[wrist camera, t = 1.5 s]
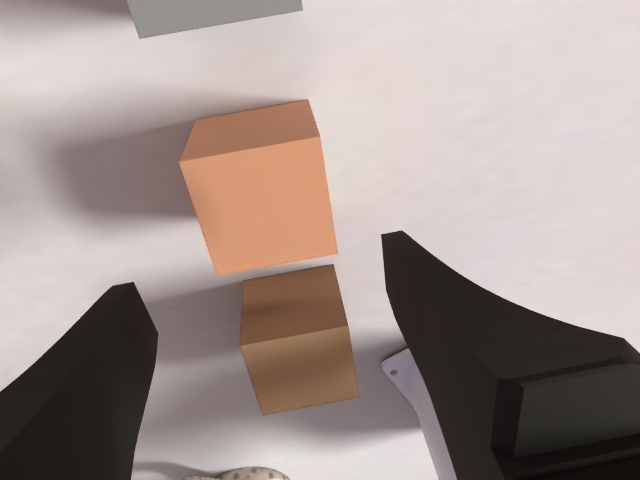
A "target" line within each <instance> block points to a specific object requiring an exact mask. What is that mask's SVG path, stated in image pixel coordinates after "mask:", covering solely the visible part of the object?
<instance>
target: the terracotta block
mask: <svg viewBox="0 0 640 480" xmlns="http://www.w3.org/2000/svg"><path fill="white" fill-rule="evenodd" d="M179 165H180V168H181V171H182V173H183V176H184V179H185V182H186V185H187V188H188V191H189V194H190V197H191V200H192V203H193V206H194V209H195V212H196V215H197V218H198V221H199V224H200V227H201V230H202V233H203V236H204V239H205V242H206V245H207V248H208V251H209V254H210V257H211V260H212V263H213V266H214V269H215V272H216V275H217V276H219V275H224V274H229V273H235V272H240V271H246V270H251V269H257V268H262V267H268V266H273V265H278V264H284V263H289V262H295V261H300V260H306V259H311V258H317V257H322V256H328V255H333V254H338V251H337V244H336V238H335V231H334V224H333V218H332V211H331V205H330V198H329V192H328V185H327V178H326V172H325V165H324V159H323V152H322V146H321V139H320V135H319V131H318V128H317V125H316V122H315V119H314V116H313V113H312V110H311V107H310V104H309V101H308V100H303V101H297V102H292V103H286V104H280V105H275V106H269V107H264V108H258V109H252V110H247V111H241V112H236V113H230V114H225V115H219V116H213V117H208V118H202V119H197V120H196V121H195V123H194V126H193V128H192V131H191V133H190V135H189V138H188V140H187V143H186V145H185V148H184V150H183V152H182V155H181V157H180V160H179Z"/></svg>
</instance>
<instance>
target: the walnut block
mask: <svg viewBox="0 0 640 480" xmlns="http://www.w3.org/2000/svg"><path fill="white" fill-rule="evenodd" d="M240 349H241V352H242V354H243V357H244V360H245V363H246V366H247V369H248V372H249V375H250V378H251V381H252V384H253V387H254V390H255V393H256V396H257V399H258V402H259V405H260V408H261V411H262V414H263V415H267V414H272V413H278V412H283V411H288V410H294V409H299V408H304V407H309V406H315V405H320V404H325V403H330V402H336V401H341V400H346V399H352V398H357V397H359V395H358V388H357V381H356V375H355V368H354V361H353V355H352V348H351V341H350V334H349V328H348V323H347V319H346V314H345V310H344V306H343V302H342V298H341V294H340V289H339V285H338V281H337V277H336V273H335V268H334V264H332V265H327V266H321V267H316V268H310V269H305V270H299V271H294V272H288V273H283V274H277V275H272V276H266V277H261V278H255V279H250V280H245V281H243V292H242V311H241V330H240Z"/></svg>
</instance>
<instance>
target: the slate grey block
mask: <svg viewBox="0 0 640 480" xmlns="http://www.w3.org/2000/svg"><path fill="white" fill-rule="evenodd" d="M127 3H128V6H129V9H130V12H131V15H132V18H133V21H134V24H135V27H136V30H137V33H138V36H139V39H142V38H147V37H153V36H159V35H165V34H170V33H176V32H182V31H187V30H193V29H199V28H205V27H210V26H216V25H222V24H228V23H233V22H239V21H245V20H251V19H256V18H262V17H268V16H273V15H279V14H285V13H291V12H296V11H302V10H303V7H302V1H301V0H127Z"/></svg>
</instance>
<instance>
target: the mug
mask: <svg viewBox="0 0 640 480" xmlns="http://www.w3.org/2000/svg"><path fill="white" fill-rule="evenodd" d="M184 480H290V479H289V478H288V477H287V476H286V475H284V474H283V473H281V472H279V471H276V470H274V469H270V468H265V467H244V468H238V469H235V470H231V471H228V472H226V473H224V474H222V475H220V476H218V477H217V478H208V477H201V476H192V475H191V476H187V477H185V478H184Z"/></svg>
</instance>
